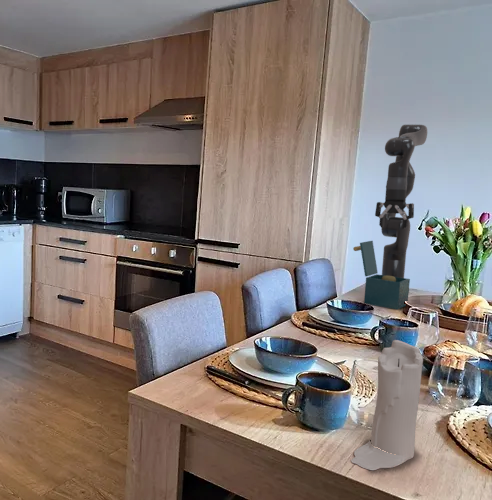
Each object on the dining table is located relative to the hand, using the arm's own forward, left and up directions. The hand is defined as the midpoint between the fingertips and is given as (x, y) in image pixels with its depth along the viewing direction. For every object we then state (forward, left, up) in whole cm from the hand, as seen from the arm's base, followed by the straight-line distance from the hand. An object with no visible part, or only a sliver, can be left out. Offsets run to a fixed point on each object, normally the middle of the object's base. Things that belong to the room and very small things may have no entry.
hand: (392, 228), depth 208 cm
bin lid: (+9, -5, -12) cm, 16 cm away
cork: (+9, +3, -30) cm, 31 cm away
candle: (+128, +46, -30) cm, 139 cm away
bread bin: (+10, +3, -30) cm, 32 cm away
